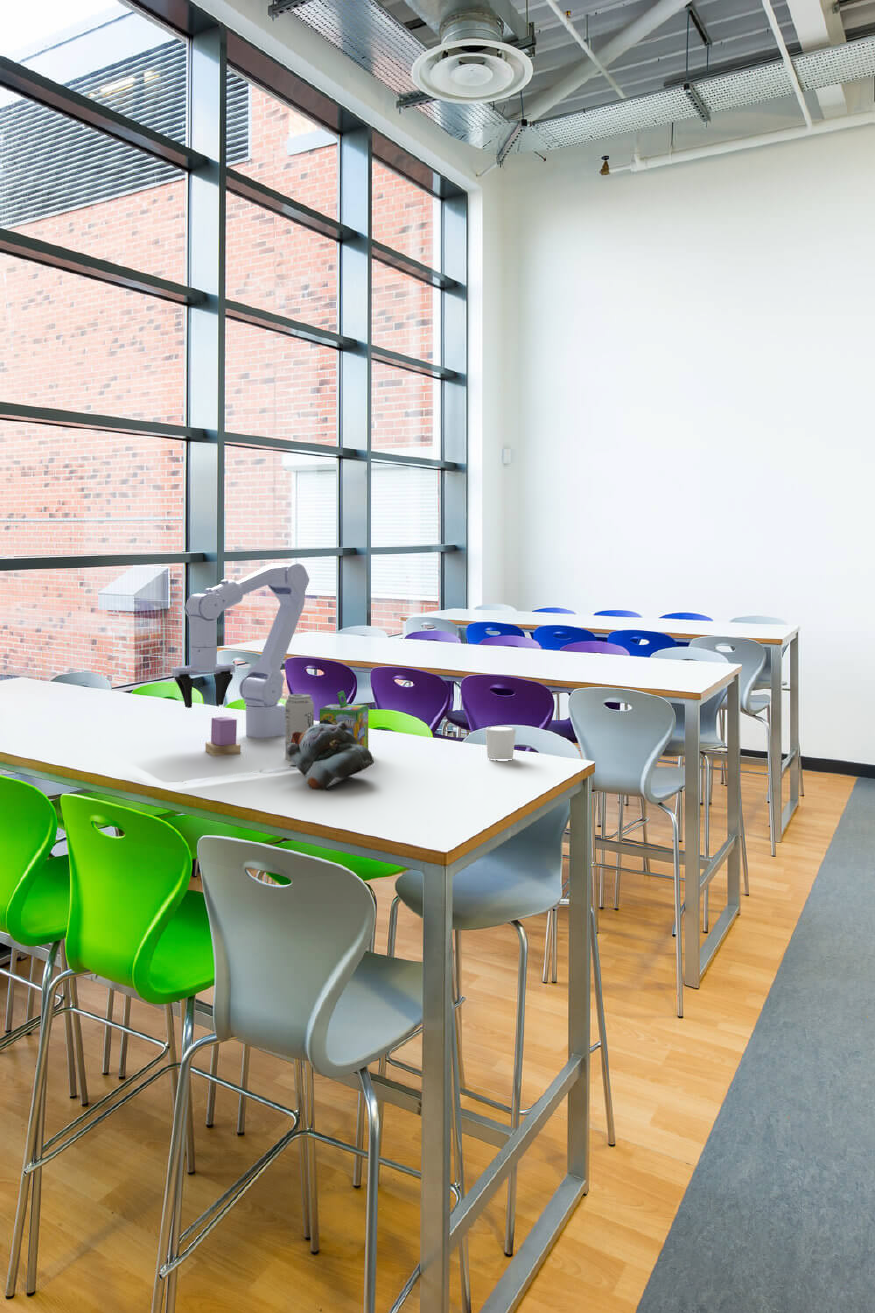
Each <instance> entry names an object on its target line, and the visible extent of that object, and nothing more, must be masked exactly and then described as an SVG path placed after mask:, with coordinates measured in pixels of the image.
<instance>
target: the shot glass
mask: <svg viewBox="0 0 875 1313" xmlns="http://www.w3.org/2000/svg"><path fill="white" fill-rule="evenodd" d="M516 733H517V729H516V728H515V727H511V726H507V725H506V726H505V725H494V726H493V725H492V726H486V727H485V738H486V739H485V740H486V741H485V742H486V753H487V754H486V755H487V756H486V757H487V759H488V758H489V759H512V758H513V757H514V749H515V742H516V741H515V740H516ZM512 760H513V759H512Z"/></svg>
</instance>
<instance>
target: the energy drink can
mask: <svg viewBox="0 0 875 1313" xmlns="http://www.w3.org/2000/svg"><path fill="white" fill-rule="evenodd" d="M314 705H315V703H314V701H313V698H312V695H311V694H307V693H293V694H292V693H291V694H288V698H287V700H286V701H285V705H284V706H285V736H284V738H285V741H284V743H285V744H284V745H285V746H284V747H285V754H284V755H285V760H287V761H291V759H290V757H289V755H288V754H287V752H286V747H287V746H288V745H289V743H290V742H291V740H292V734H293V733H294V732H300V733H301V732H305V731H306V730H307V729H308V728H310V727H312V726H313V725H315V723H314V722H315V719H314V718H315V717H314V716H315V706H314ZM291 762H292V761H291ZM289 767H295V768H297V767H296V765H295V764H291V765H289Z"/></svg>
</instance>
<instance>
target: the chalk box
mask: <svg viewBox="0 0 875 1313" xmlns="http://www.w3.org/2000/svg"><path fill="white" fill-rule="evenodd" d="M337 698H338V699H337V700H338V703H330V704H327V705H325V706H323V707H320V708H319V723H320V722H321V720H323V719H326V720H328V721H330V722H331V723H332V724H334V725H335V726H336V725H337V724H338V723H340V722H344V723H345V724H346V725H347V728H348V730H349V731H350V732H351V733H352V734H353V736H354V737H355V738H356V741H357V744H358V745H362V746H364V747H366V748H367V749H368V750H369V705H368V704H367V705H366V704H353V703H348V702H347V698H346V694H345V691H344V690H341V691H339V692H337ZM342 699H343V701H342Z"/></svg>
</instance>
